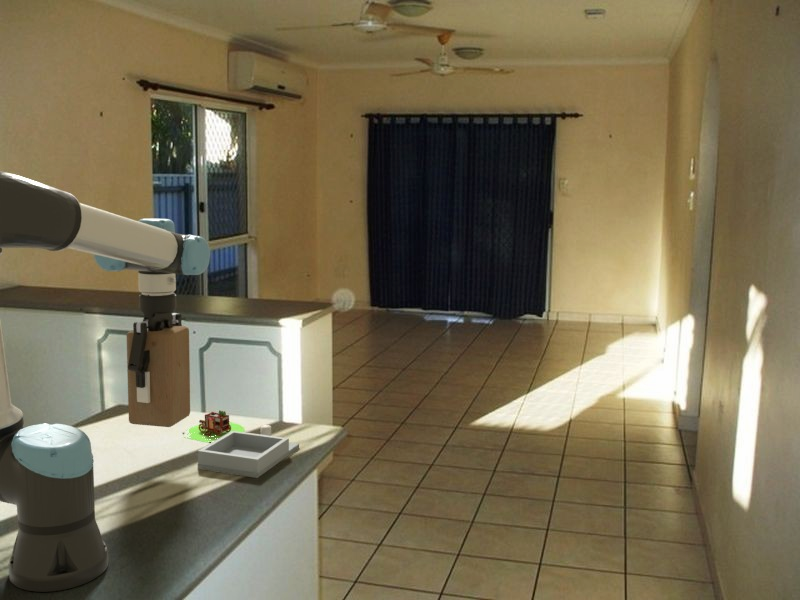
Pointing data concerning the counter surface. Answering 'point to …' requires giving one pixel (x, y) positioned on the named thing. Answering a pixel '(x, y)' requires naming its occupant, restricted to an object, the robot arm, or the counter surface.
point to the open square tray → (245, 453)
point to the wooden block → (162, 379)
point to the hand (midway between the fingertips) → (159, 395)
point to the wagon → (213, 427)
